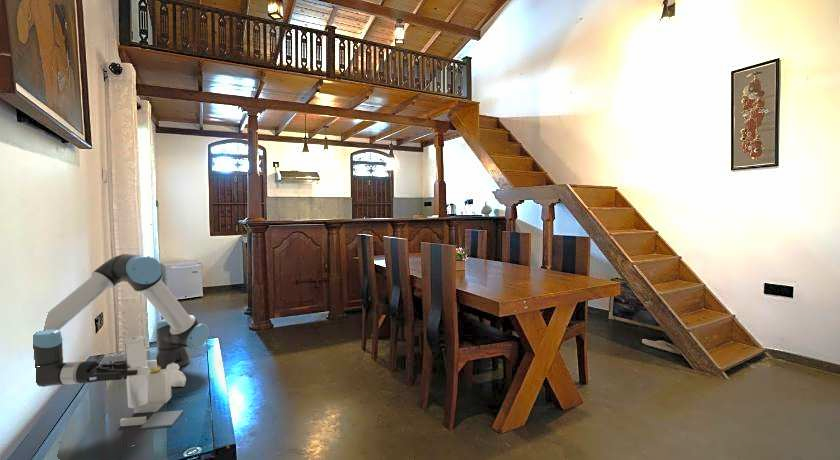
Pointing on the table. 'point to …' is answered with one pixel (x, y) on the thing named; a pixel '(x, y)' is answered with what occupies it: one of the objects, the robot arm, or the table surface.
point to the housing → (153, 396)
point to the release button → (155, 369)
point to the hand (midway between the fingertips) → (152, 367)
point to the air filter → (138, 384)
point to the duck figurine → (176, 375)
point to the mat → (162, 419)
